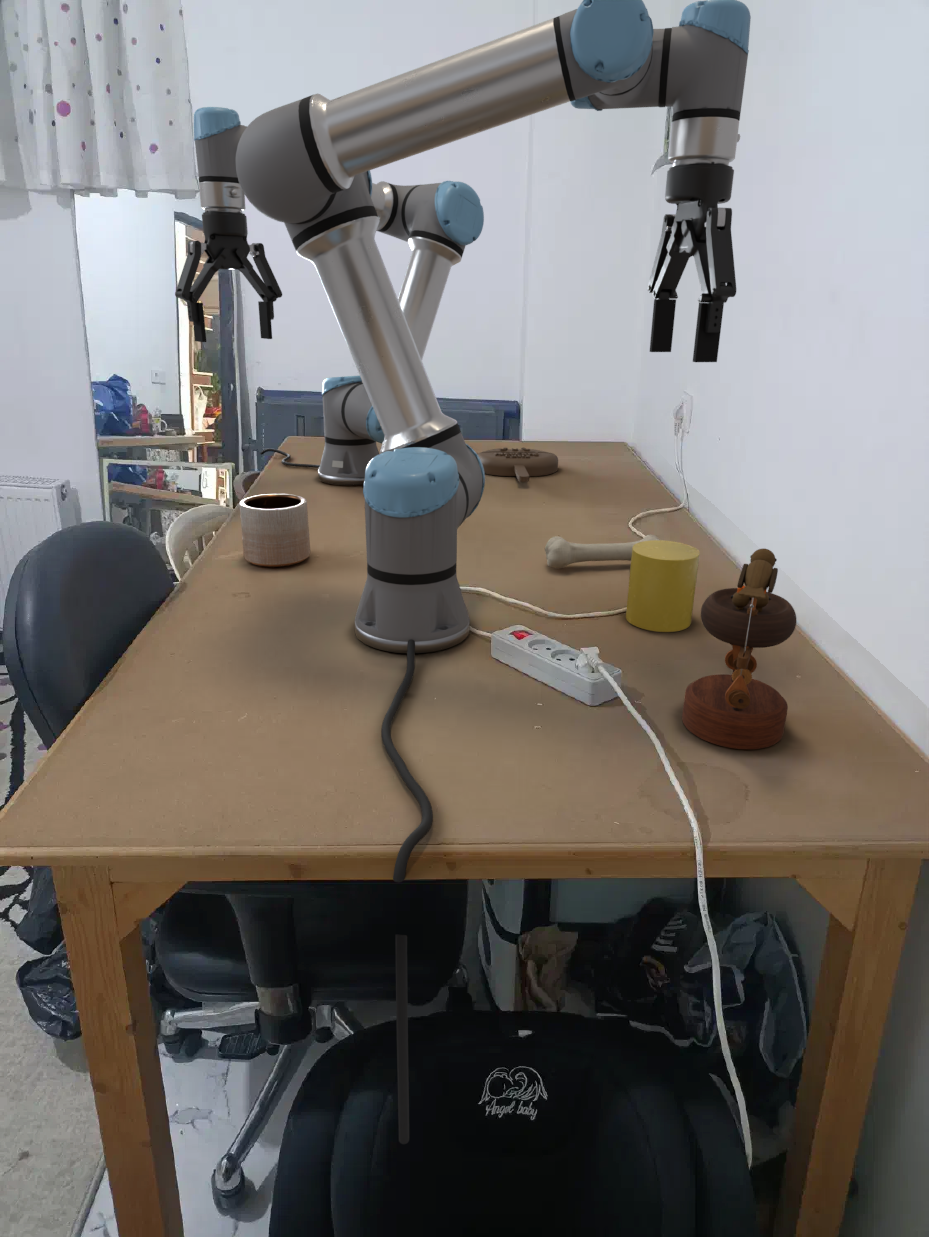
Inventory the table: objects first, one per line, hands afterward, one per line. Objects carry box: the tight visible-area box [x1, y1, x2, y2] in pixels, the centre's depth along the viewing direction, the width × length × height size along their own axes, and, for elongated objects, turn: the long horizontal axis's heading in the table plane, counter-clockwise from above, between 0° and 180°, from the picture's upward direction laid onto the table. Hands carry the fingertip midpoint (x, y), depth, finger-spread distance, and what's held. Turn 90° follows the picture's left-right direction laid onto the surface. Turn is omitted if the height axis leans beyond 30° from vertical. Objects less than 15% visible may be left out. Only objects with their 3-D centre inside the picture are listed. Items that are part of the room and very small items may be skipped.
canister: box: [625, 539, 701, 633], centre depth 116 cm, size 9×9×10 cm
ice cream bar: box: [477, 447, 559, 483], centre depth 201 cm, size 21×28×4 cm
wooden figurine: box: [681, 548, 797, 750], centre depth 88 cm, size 15×11×20 cm
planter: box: [239, 493, 311, 568], centre depth 139 cm, size 11×11×10 cm
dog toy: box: [544, 534, 660, 570], centre depth 138 cm, size 20×6×5 cm, turn 99°
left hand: (234, 340), depth 155 cm, fingers open, 13 cm apart
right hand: (681, 357), depth 106 cm, fingers open, 13 cm apart
